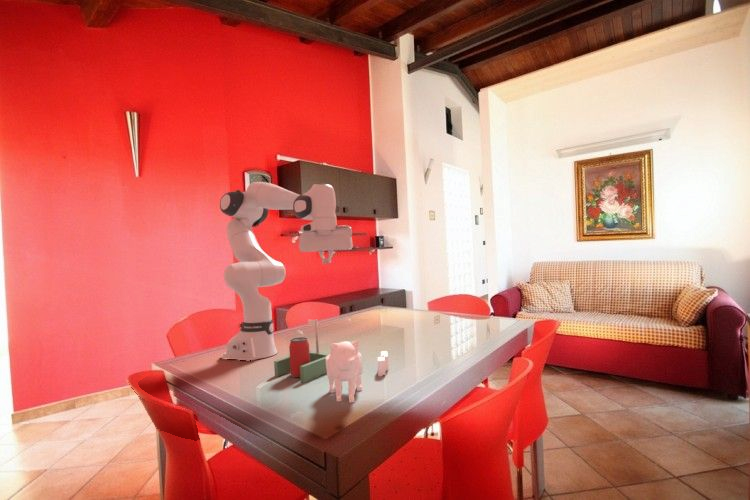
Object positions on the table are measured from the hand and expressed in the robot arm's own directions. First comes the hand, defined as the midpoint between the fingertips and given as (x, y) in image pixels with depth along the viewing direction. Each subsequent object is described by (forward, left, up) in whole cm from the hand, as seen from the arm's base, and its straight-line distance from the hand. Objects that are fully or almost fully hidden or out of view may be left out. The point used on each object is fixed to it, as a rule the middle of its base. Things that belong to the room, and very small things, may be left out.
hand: (326, 263), depth 134 cm
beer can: (-7, -14, -37) cm, 40 cm away
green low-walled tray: (-6, -12, -37) cm, 40 cm away
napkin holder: (+21, -9, -38) cm, 44 cm away
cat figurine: (+13, -30, -37) cm, 49 cm away
